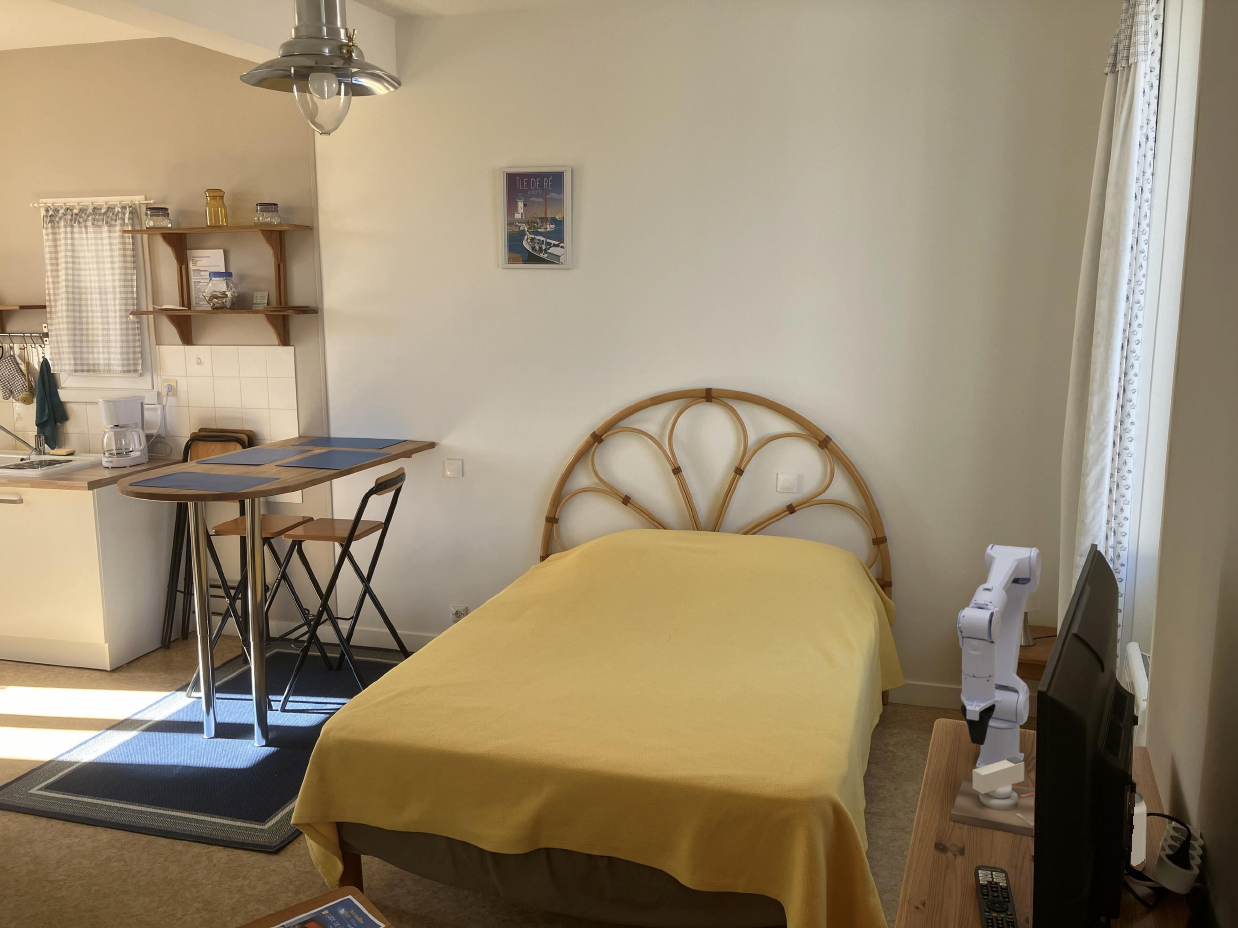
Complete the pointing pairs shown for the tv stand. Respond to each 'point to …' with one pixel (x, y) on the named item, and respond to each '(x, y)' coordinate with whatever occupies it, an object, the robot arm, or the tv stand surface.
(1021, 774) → the lock handle
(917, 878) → the tv stand surface
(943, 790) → the tv stand surface
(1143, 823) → the can
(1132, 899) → the tv stand surface
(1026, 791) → the base
